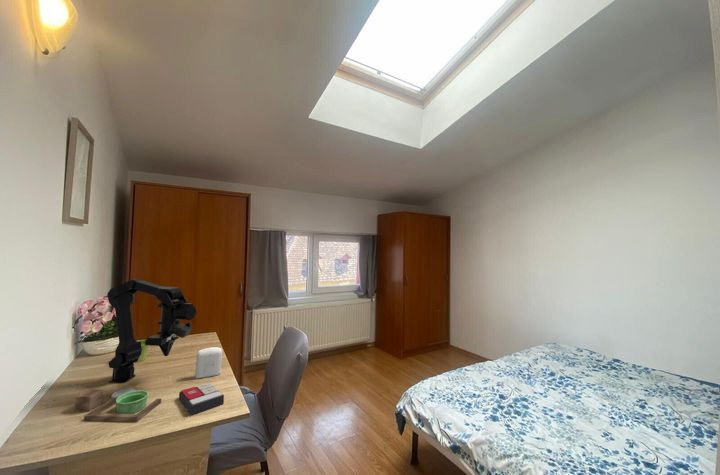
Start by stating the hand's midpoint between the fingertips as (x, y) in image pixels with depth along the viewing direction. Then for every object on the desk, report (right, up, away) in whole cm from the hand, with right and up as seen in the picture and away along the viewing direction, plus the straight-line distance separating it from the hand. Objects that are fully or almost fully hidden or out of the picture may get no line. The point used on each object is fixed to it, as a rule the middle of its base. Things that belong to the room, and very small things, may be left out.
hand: (166, 355), depth 116 cm
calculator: (+21, -13, -11) cm, 27 cm away
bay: (-1, -11, -19) cm, 22 cm away
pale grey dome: (-10, -11, -9) cm, 18 cm away
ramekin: (0, -11, -18) cm, 21 cm away
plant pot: (-30, -12, +22) cm, 39 cm away
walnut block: (-15, -11, -18) cm, 26 cm away
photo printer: (+12, -13, +10) cm, 20 cm away
